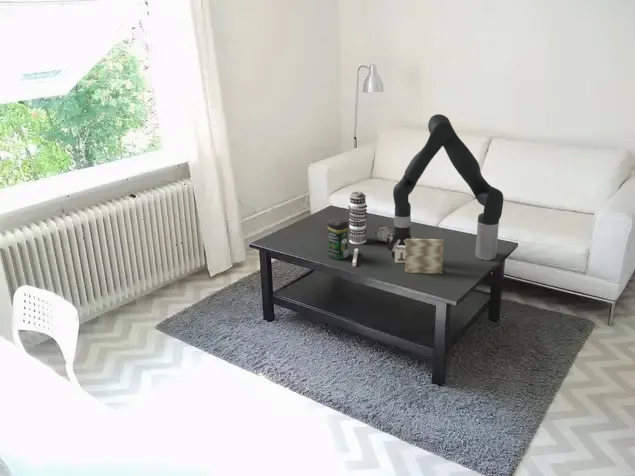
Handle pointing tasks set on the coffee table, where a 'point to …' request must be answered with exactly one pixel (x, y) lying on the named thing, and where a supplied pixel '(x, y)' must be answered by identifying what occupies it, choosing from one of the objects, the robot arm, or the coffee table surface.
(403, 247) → the letter cube
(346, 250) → the coffee jar
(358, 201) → the decorative candle
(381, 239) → the game die
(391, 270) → the coffee table surface
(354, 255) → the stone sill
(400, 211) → the robot arm
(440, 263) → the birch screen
